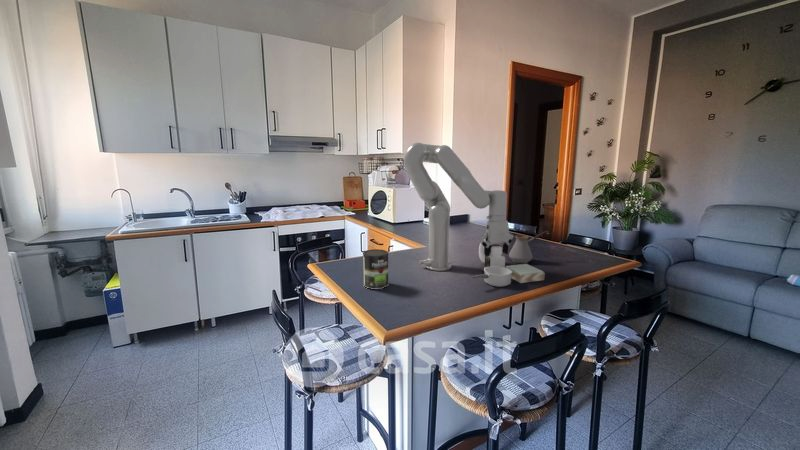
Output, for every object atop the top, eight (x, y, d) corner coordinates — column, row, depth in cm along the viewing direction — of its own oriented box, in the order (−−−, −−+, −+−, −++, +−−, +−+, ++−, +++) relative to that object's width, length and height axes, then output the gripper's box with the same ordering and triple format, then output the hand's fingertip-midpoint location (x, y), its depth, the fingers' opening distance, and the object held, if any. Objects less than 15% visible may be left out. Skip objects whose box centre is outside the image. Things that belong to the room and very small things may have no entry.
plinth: (520, 283, 139) (521, 274, 138) (503, 273, 150) (504, 265, 149) (544, 280, 142) (545, 271, 142) (526, 271, 154) (526, 263, 153)
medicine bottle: (484, 267, 159) (485, 243, 156) (498, 267, 159) (500, 243, 157) (489, 272, 152) (490, 247, 149) (504, 272, 152) (506, 247, 150)
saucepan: (462, 285, 137) (462, 272, 136) (496, 276, 147) (497, 264, 146) (481, 294, 127) (482, 280, 126) (517, 284, 137) (518, 272, 136)
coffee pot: (517, 265, 162) (519, 235, 159) (503, 259, 173) (505, 230, 170) (553, 261, 168) (556, 232, 165) (538, 255, 178) (540, 228, 176)
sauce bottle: (475, 264, 164) (477, 228, 161) (481, 260, 171) (483, 225, 167) (491, 266, 160) (493, 230, 157) (496, 262, 166) (498, 227, 163)
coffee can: (392, 287, 135) (392, 253, 132) (369, 292, 130) (368, 257, 127) (382, 279, 144) (381, 247, 141) (359, 283, 139) (359, 251, 136)
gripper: (484, 220, 145) (483, 258, 148) (518, 217, 150) (517, 254, 153) (476, 218, 152) (475, 254, 155) (508, 215, 157) (507, 250, 160)
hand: (496, 254), depth 154 cm, fingers open, 9 cm apart
